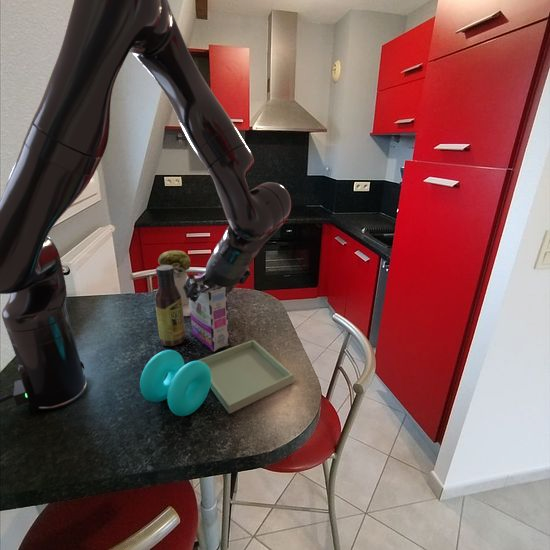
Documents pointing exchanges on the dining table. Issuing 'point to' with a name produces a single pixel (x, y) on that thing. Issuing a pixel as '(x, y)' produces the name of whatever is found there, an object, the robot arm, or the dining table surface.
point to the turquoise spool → (176, 382)
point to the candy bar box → (210, 318)
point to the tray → (245, 375)
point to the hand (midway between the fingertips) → (210, 293)
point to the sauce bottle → (169, 308)
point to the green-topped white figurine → (178, 273)
